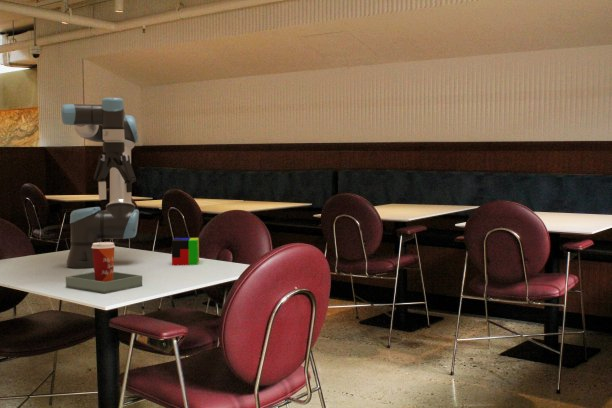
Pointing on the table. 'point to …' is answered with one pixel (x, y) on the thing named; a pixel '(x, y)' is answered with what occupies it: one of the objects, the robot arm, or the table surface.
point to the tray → (118, 283)
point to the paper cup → (103, 261)
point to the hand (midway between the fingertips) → (115, 200)
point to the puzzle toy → (185, 251)
